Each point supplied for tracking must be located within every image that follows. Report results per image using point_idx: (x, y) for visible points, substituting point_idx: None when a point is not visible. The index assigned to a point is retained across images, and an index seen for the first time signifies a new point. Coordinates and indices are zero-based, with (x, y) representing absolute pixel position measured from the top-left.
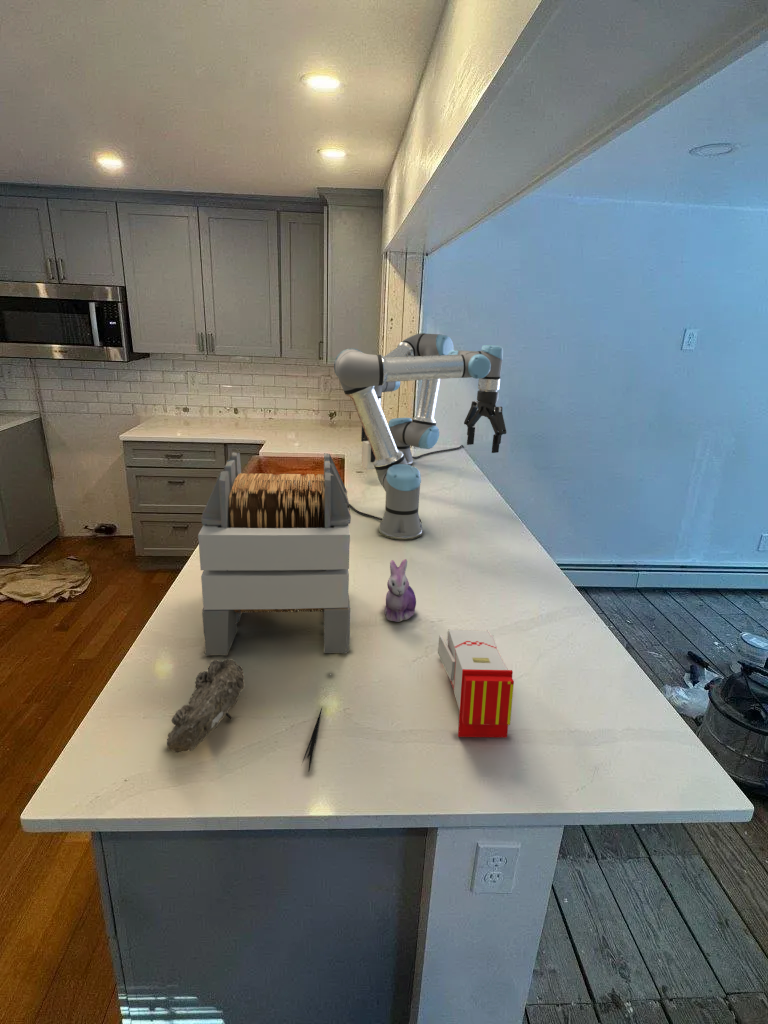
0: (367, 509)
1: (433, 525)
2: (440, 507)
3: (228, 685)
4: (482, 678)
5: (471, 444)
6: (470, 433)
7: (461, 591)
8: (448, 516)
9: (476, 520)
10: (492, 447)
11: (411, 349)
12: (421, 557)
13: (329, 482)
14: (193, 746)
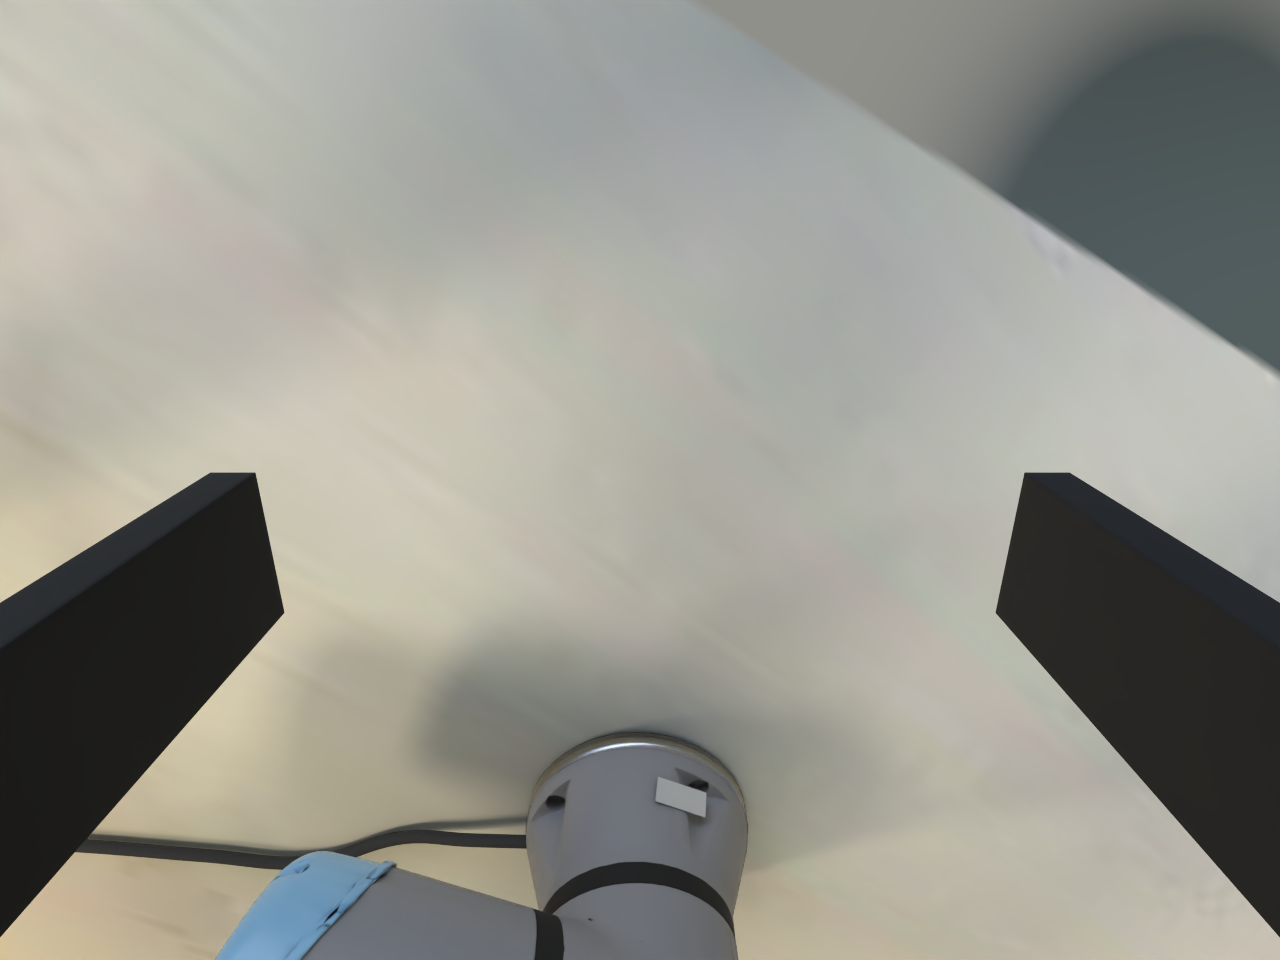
0: (265, 794)
1: (632, 636)
2: (365, 407)
3: None
4: None
5: (264, 528)
6: (103, 757)
7: (1231, 914)
8: (543, 470)
9: (690, 349)
10: (1067, 679)
11: None
12: (919, 878)
13: None
14: None
